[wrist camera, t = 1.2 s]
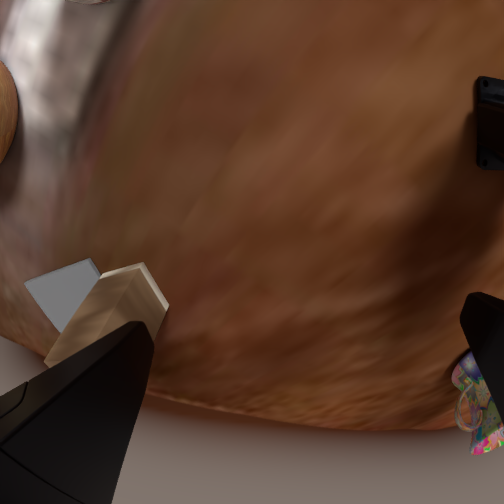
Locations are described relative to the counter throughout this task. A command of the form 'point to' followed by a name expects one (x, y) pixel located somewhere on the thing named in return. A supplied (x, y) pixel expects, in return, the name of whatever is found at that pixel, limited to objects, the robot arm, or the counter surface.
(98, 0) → the soda can
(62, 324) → the mat
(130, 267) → the block
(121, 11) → the counter surface
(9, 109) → the pastry
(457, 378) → the mug
